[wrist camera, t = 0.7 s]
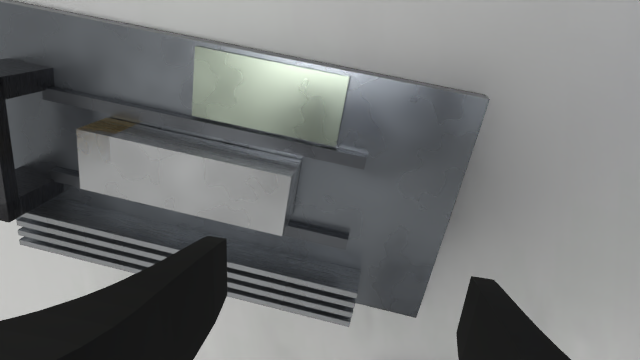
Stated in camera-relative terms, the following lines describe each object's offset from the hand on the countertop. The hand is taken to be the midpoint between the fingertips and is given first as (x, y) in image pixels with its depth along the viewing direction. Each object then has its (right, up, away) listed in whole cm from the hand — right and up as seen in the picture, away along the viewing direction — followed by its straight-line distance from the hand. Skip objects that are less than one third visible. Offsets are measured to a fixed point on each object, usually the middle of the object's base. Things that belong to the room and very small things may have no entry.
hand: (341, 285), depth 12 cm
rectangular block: (-7, +4, +9) cm, 12 cm away
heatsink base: (-6, +4, +10) cm, 12 cm away
